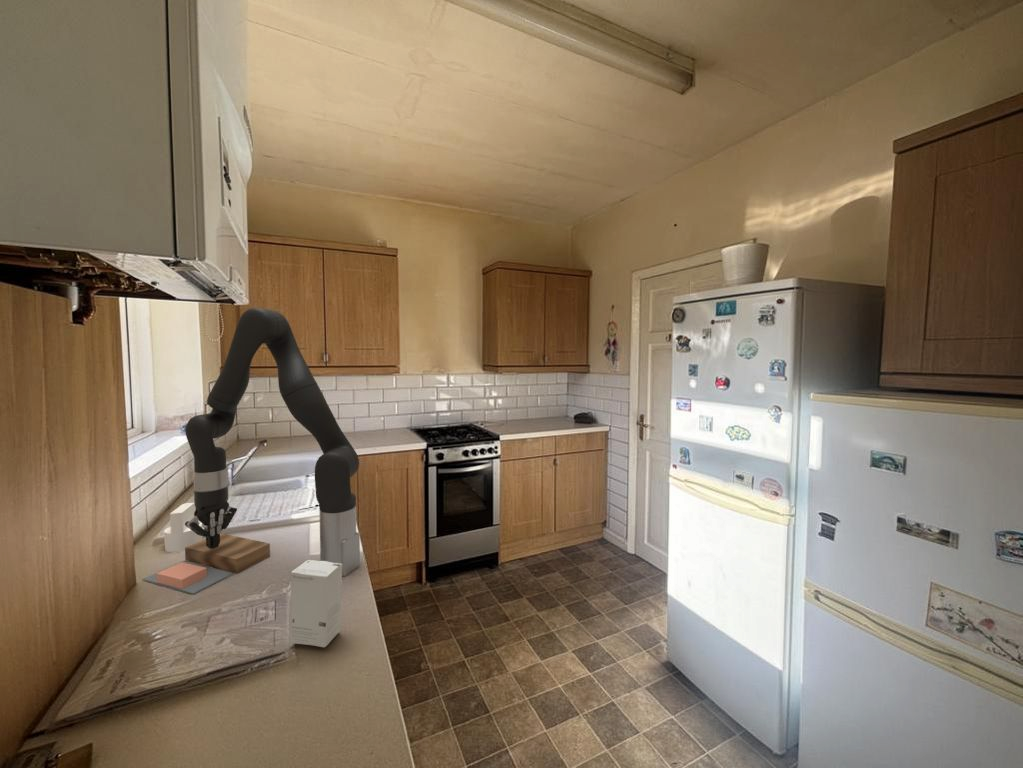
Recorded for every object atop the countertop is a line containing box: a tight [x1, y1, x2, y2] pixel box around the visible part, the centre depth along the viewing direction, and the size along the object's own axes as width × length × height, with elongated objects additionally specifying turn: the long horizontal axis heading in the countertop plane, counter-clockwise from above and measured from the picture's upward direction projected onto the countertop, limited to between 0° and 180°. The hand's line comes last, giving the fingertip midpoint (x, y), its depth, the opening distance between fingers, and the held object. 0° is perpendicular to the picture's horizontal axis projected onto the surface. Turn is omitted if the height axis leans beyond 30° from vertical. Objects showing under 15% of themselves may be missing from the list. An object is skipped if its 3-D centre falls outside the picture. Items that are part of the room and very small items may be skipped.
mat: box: [142, 560, 234, 596], centre depth 106 cm, size 19×10×1 cm, turn 71°
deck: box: [184, 533, 271, 575], centre depth 116 cm, size 20×10×4 cm, turn 71°
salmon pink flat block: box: [156, 561, 207, 589], centre depth 104 cm, size 9×6×2 cm, turn 72°
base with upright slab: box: [163, 502, 204, 553], centre depth 123 cm, size 9×9×12 cm
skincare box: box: [288, 559, 343, 648], centre depth 84 cm, size 8×6×15 cm
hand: (213, 547), depth 112 cm, fingers closed
